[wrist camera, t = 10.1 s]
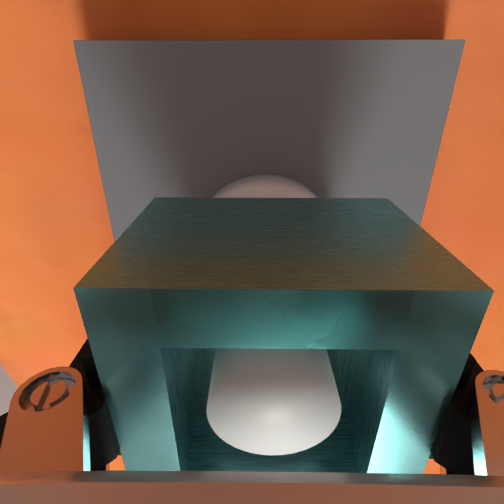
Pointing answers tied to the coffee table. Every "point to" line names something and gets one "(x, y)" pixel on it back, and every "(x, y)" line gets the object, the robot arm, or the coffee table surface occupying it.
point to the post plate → (267, 168)
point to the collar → (280, 325)
